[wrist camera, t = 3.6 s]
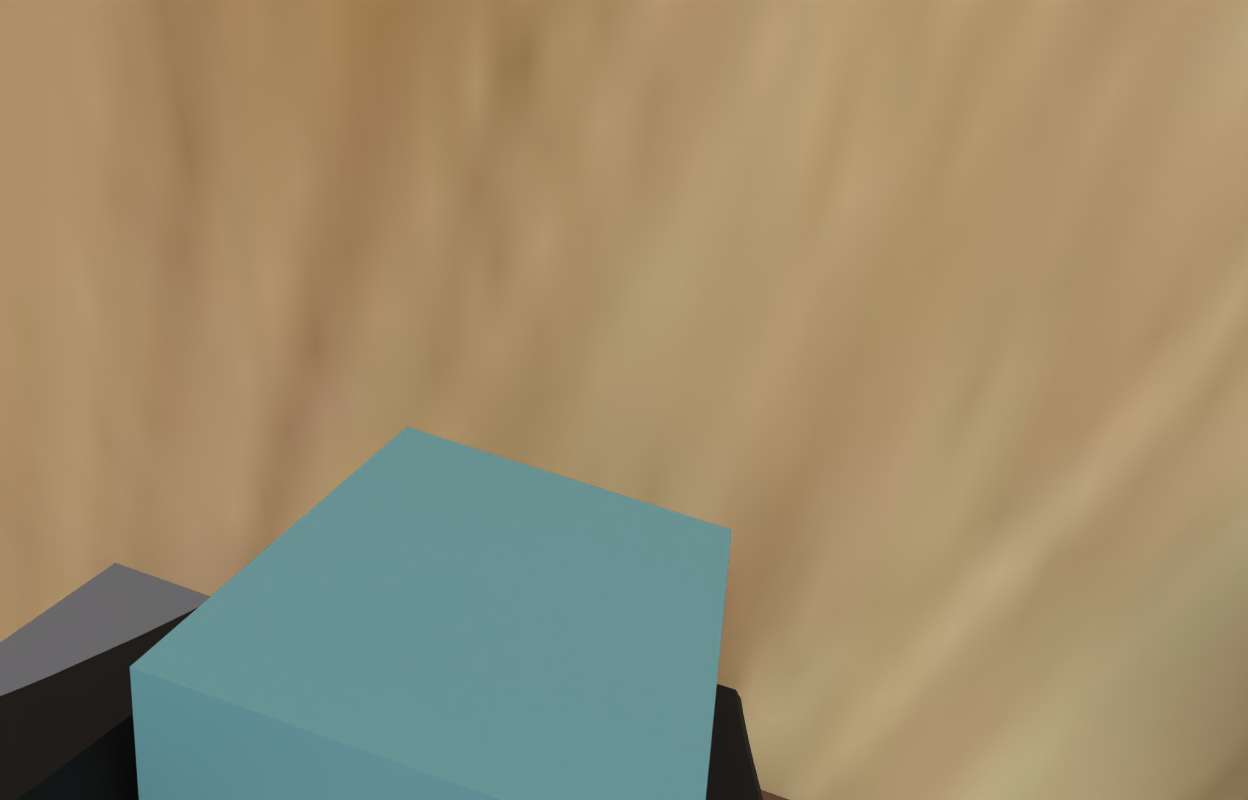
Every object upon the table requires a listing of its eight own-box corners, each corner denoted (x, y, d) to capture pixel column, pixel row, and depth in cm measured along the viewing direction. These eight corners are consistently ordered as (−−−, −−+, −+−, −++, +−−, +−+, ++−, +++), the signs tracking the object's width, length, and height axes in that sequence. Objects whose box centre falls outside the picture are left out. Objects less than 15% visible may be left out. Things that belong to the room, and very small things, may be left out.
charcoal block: (308, 627, 17) (137, 819, 12) (295, 768, 19) (145, 977, 14) (118, 561, 17) (-117, 723, 13) (126, 706, 19) (-74, 890, 15)
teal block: (731, 530, 10) (698, 869, 6) (645, 764, 12) (570, 1154, 8) (406, 426, 11) (131, 667, 6) (375, 671, 13) (151, 988, 8)
